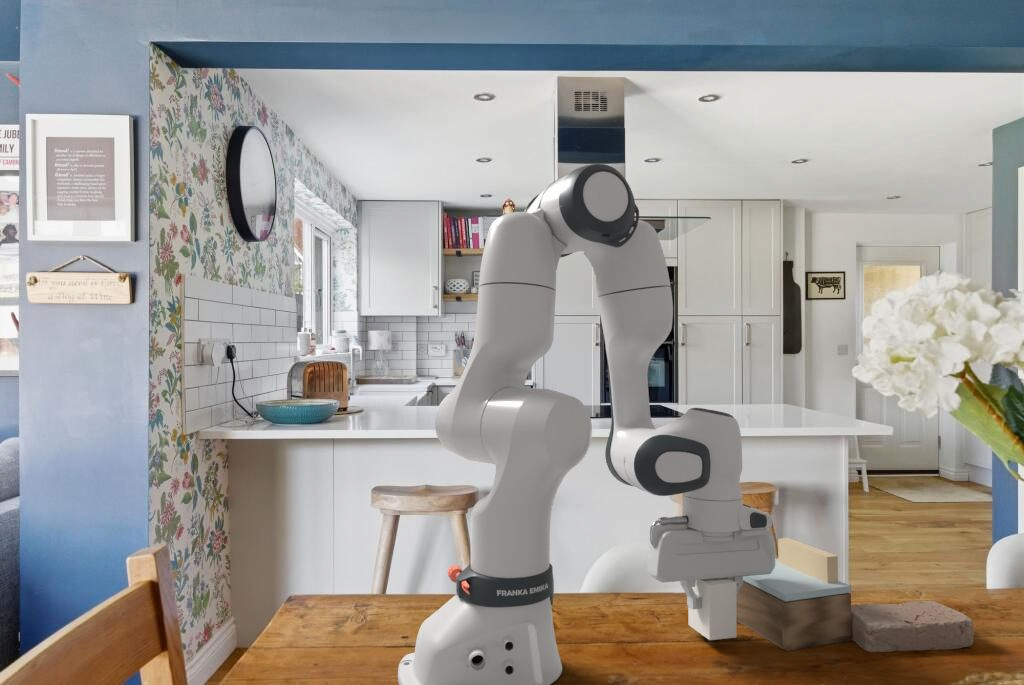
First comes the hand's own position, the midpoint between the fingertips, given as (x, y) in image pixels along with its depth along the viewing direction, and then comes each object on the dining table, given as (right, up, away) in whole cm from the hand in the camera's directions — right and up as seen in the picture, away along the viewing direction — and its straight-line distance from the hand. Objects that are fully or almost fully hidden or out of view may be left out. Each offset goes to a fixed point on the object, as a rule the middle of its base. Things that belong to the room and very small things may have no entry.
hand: (711, 606), depth 101 cm
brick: (+30, -6, 0) cm, 30 cm away
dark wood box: (+13, -5, +5) cm, 15 cm away
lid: (+13, +2, +5) cm, 14 cm away
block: (0, -4, 0) cm, 4 cm away
